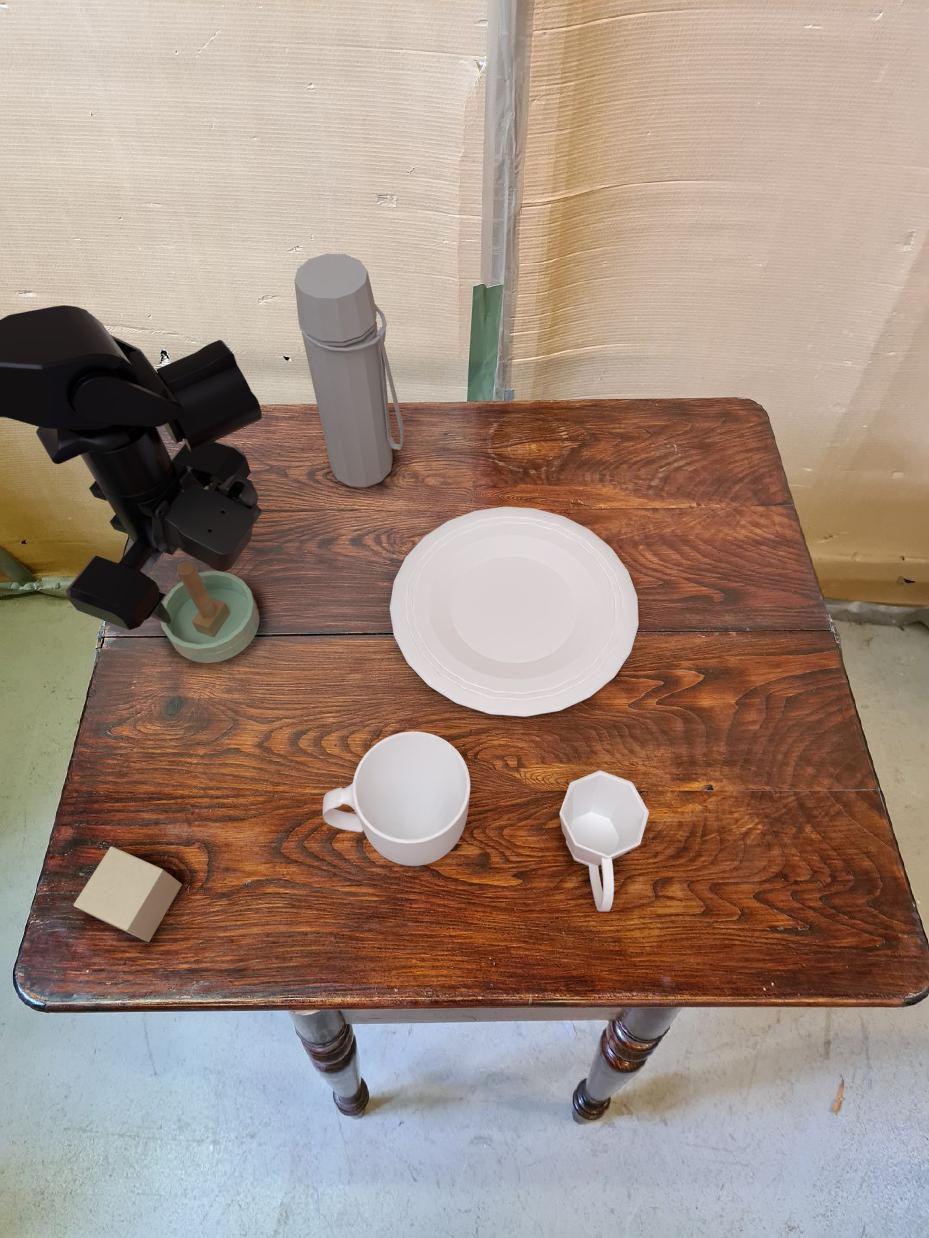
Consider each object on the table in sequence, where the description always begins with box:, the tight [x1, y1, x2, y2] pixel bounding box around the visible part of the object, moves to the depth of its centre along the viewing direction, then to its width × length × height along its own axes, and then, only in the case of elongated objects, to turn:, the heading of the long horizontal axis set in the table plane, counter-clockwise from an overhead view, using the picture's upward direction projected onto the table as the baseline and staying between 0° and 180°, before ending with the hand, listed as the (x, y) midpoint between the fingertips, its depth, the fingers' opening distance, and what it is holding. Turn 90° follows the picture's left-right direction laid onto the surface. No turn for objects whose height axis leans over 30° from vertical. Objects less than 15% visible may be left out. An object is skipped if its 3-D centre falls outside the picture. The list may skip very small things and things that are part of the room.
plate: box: [389, 506, 640, 718], centre depth 80 cm, size 25×25×2 cm
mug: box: [322, 730, 471, 867], centre depth 64 cm, size 12×9×12 cm
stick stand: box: [73, 845, 183, 943], centre depth 64 cm, size 5×5×5 cm
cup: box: [558, 769, 650, 912], centre depth 65 cm, size 7×10×8 cm
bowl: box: [160, 570, 260, 664], centre depth 79 cm, size 9×9×3 cm
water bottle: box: [294, 253, 405, 488], centre depth 81 cm, size 9×8×25 cm
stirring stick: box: [176, 560, 230, 638], centre depth 76 cm, size 2×3×10 cm, turn 158°
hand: (193, 582), depth 74 cm, fingers open, 9 cm apart
